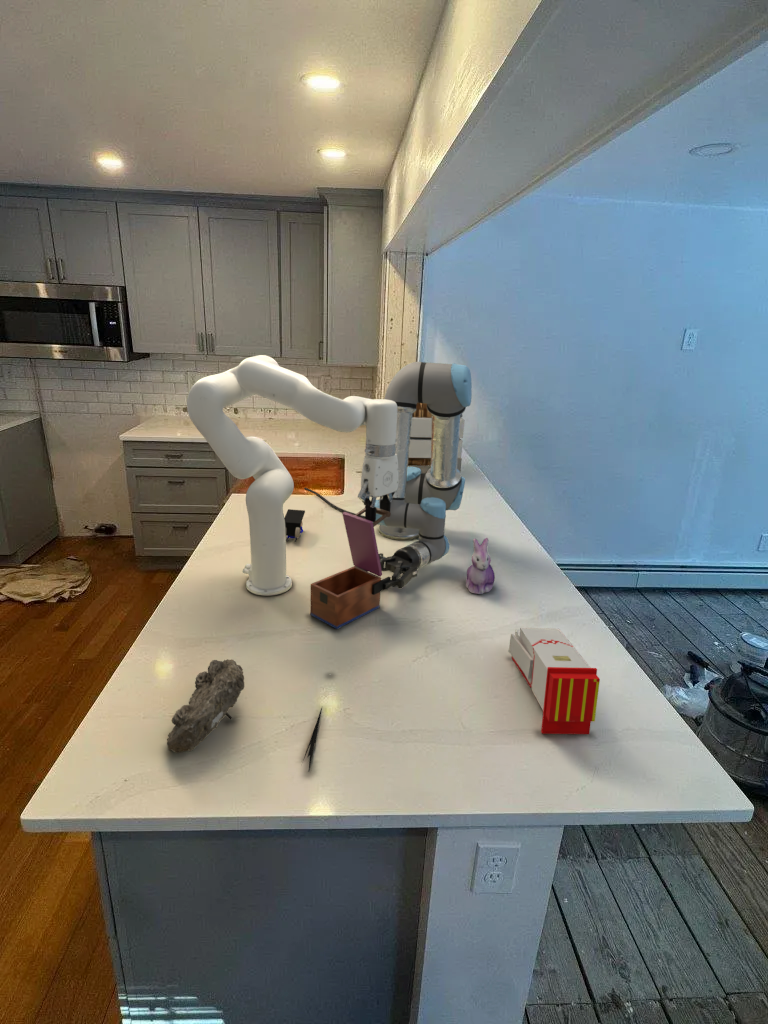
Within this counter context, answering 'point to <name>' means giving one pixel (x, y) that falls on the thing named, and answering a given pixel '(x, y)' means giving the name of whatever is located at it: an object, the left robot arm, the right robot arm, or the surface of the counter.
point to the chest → (344, 597)
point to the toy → (557, 679)
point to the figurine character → (293, 523)
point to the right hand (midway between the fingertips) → (358, 583)
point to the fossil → (206, 705)
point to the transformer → (426, 438)
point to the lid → (364, 540)
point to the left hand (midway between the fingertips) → (377, 517)
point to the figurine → (480, 569)
